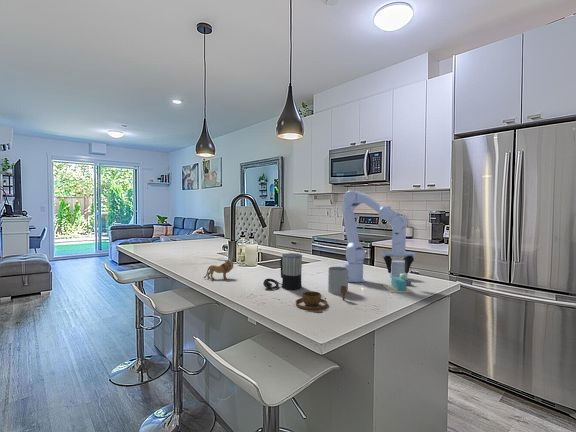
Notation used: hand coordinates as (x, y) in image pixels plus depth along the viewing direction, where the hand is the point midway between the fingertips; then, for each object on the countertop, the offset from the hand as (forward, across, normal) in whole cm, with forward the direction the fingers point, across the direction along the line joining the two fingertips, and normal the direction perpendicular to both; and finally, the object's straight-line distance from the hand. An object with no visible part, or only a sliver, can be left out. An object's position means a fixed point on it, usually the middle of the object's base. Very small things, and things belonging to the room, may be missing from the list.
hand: (397, 272), depth 145 cm
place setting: (+8, -37, -24) cm, 45 cm away
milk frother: (+7, -52, 0) cm, 52 cm away
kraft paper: (+7, -1, -1) cm, 7 cm away
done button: (+5, +5, +7) cm, 10 cm away
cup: (+7, -28, -6) cm, 29 cm away
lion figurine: (+8, -84, +18) cm, 86 cm away
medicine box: (+7, +7, +19) cm, 21 cm away
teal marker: (+7, 0, -1) cm, 7 cm away
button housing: (+7, +5, +7) cm, 11 cm away
